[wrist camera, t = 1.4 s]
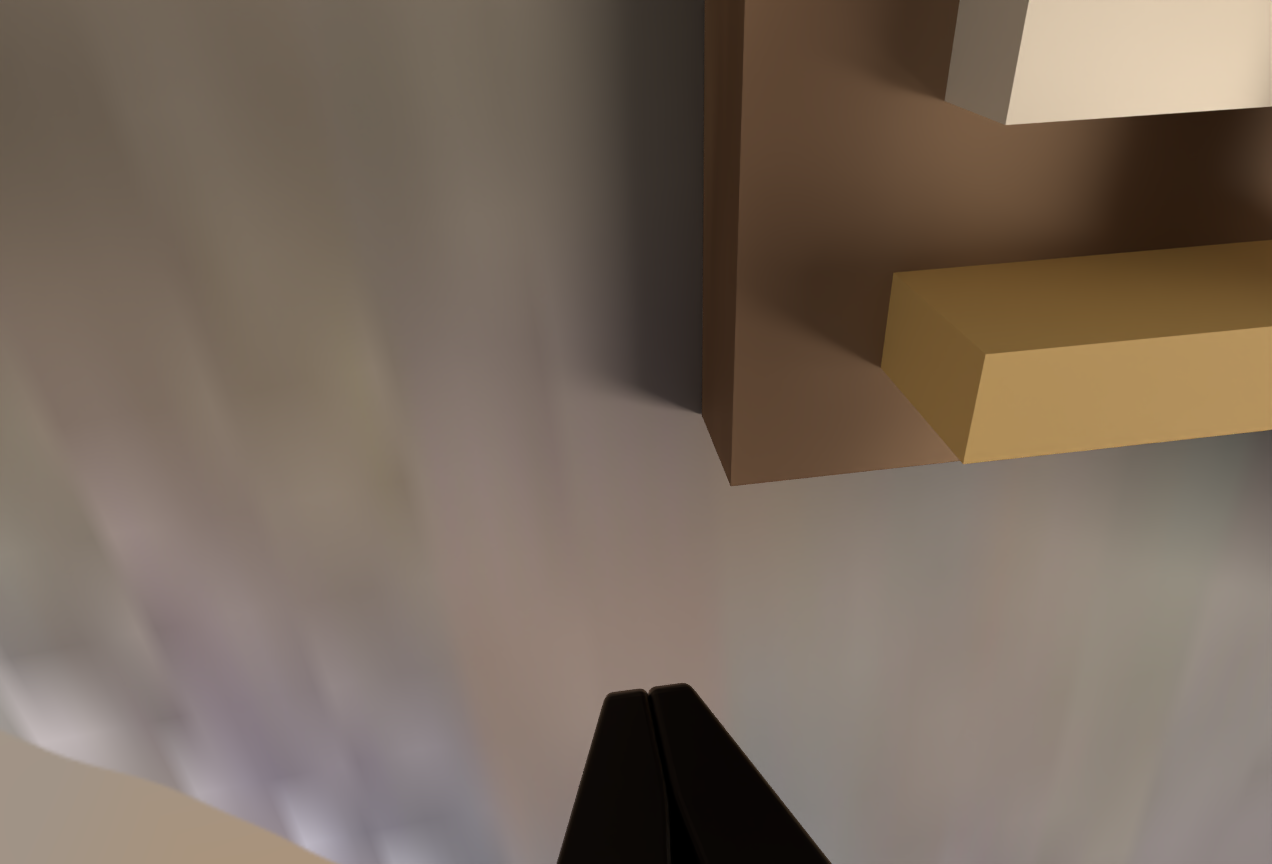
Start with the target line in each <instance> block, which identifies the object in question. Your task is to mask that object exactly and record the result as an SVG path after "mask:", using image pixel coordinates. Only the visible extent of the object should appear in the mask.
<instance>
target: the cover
mask: <svg viewBox="0 0 1272 864" xmlns="http://www.w3.org/2000/svg"><path fill="white" fill-rule="evenodd" d="M945 101H946V102H948V103H951V104H953V105H956V106H958V107H961V108H964V109H966V110H969V111H971V112H974V113H976V114H979V115H981V116H984V117H986V118H989V119H991V120H994V121H996V122H999V123H1001V124H1004V125H1013V124H1027V123H1042V122H1056V121H1070V120H1085V119H1099V118H1113V117H1128V116H1142V115H1156V114H1171V113H1185V112H1199V111H1214V110H1228V109H1242V108H1257V107H1271V106H1272V0H960V2H959V8H958V15H957V22H956V28H955V35H954V41H953V48H952V55H951V61H950V68H949V75H948V81H947V88H946V95H945Z"/></svg>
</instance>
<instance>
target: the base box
mask: <svg viewBox="0 0 1272 864" xmlns="http://www.w3.org/2000/svg"><path fill="white" fill-rule="evenodd" d="M959 2H960V0H705V40H704V193H703V346H702V417H703V419H704V422H705V424H706V426H707V429H708V431H709V434H710V436H711V439H712V441H713V444H714V446H715V449H716V451H717V454H718V456H719V458H720V461H721V463H722V466H723V468H724V471H725V473H726V476H727V478H728V481H729V483H730V486H737V485H746V484H755V483H764V482H773V481H782V480H791V479H800V478H809V477H818V476H827V475H836V474H845V473H855V472H864V471H873V470H882V469H891V468H900V467H909V466H918V465H927V464H936V463H945V462H954V461H960V460H959V459H958V458H957V456H956V455H955V454H954V453H953V452H952V451H951V449H950V448H949V447H948V446H947V445H946V444H945V442H944V441H943V440H942V439H941V438H940V437H939V435H938V434H937V433H936V432H935V431H934V430H933V428H932V427H931V426H930V425H929V424H928V423H927V421H926V420H925V419H924V418H923V417H922V416H921V414H920V413H919V412H918V411H917V410H916V409H915V407H914V406H913V405H912V404H911V403H910V402H909V400H908V399H907V398H906V397H905V396H904V395H903V393H902V392H901V391H900V390H899V389H898V388H897V386H896V385H895V384H894V383H893V382H892V380H891V379H890V378H889V377H888V376H887V375H886V373H885V372H884V371H883V370H882V369H881V362H882V355H883V347H884V340H885V332H886V325H887V317H888V310H889V302H890V295H891V287H892V280H893V273H896V272H907V271H919V270H930V269H942V268H953V267H965V266H976V265H988V264H999V263H1011V262H1022V261H1034V260H1045V259H1057V258H1068V257H1080V256H1091V255H1103V254H1114V253H1126V252H1137V251H1149V250H1160V249H1172V248H1183V247H1195V246H1206V245H1218V244H1230V243H1241V242H1253V241H1264V240H1272V106H1271V107H1257V108H1242V109H1228V110H1214V111H1199V112H1185V113H1171V114H1156V115H1142V116H1128V117H1113V118H1099V119H1085V120H1070V121H1056V122H1042V123H1027V124H1013V125H1004V124H1001V123H999V122H996V121H994V120H991V119H989V118H986V117H984V116H981V115H979V114H976V113H974V112H971V111H969V110H966V109H964V108H961V107H958V106H956V105H953V104H951V103H948V102H946V101H945V95H946V88H947V81H948V75H949V68H950V61H951V55H952V48H953V41H954V35H955V28H956V22H957V15H958V8H959Z"/></svg>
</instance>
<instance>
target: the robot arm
mask: <svg viewBox="0 0 1272 864" xmlns="http://www.w3.org/2000/svg"><path fill="white" fill-rule="evenodd" d="M557 864H831V862H830V861H829V860H828V858H827V857H826V856H825V855H824V853H823V852H822V851H821V850H820V848H819V847H818V846H817V845H816V843H815V842H814V841H813V839H812V838H811V837H810V836H809V834H808V833H807V832H806V831H805V829H804V828H803V827H802V826H801V824H800V823H799V822H798V820H797V819H796V818H795V817H794V815H793V814H792V813H791V812H790V810H789V809H788V808H787V807H786V805H785V804H784V803H783V801H782V800H781V799H780V798H779V796H778V795H777V794H776V793H775V791H774V790H773V789H772V788H771V786H770V785H769V784H768V782H767V781H766V780H765V779H764V777H763V776H762V775H761V774H760V772H759V771H758V770H757V769H756V767H755V766H754V765H753V763H752V762H751V761H750V760H749V758H748V757H747V756H746V755H745V753H744V752H743V751H742V750H741V748H740V747H739V746H738V744H737V743H736V742H735V741H734V739H733V738H732V737H731V736H730V734H729V733H728V732H727V731H726V729H725V728H724V727H723V725H722V724H721V723H720V722H719V720H718V719H717V718H716V717H715V715H714V714H713V713H712V712H711V710H710V709H709V708H708V706H707V705H706V704H705V703H704V701H703V700H702V699H701V698H700V696H699V695H698V694H697V693H696V691H695V690H694V689H693V688H692V687H691V686H690V685H688V684H686V683H678V684H670V685H663V686H655V687H653V688H651V689H650V690H649V693H648V694H647V692H646V691H645V690H643V689H633V690H625V691H618V692H612V693H609V694H608V695H607V696H606V698H605V699H604V702H603V705H602V709H601V712H600V716H599V719H598V723H597V726H596V730H595V733H594V737H593V740H592V743H591V747H590V750H589V754H588V757H587V761H586V764H585V768H584V771H583V775H582V778H581V781H580V785H579V788H578V792H577V795H576V799H575V802H574V806H573V809H572V813H571V816H570V819H569V823H568V826H567V830H566V833H565V837H564V840H563V844H562V847H561V851H560V854H559V857H558V861H557Z"/></svg>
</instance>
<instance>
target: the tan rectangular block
mask: <svg viewBox="0 0 1272 864" xmlns="http://www.w3.org/2000/svg"><path fill="white" fill-rule="evenodd" d="M881 369H882V370H883V371H884V372H885V373H886V375H887V376H888V377H889V378H890V379H891V380H892V382H893V383H894V384H895V385H896V386H897V388H898V389H899V390H900V391H901V392H902V393H903V395H904V396H905V397H906V398H907V399H908V400H909V402H910V403H911V404H912V405H913V406H914V407H915V409H916V410H917V411H918V412H919V413H920V414H921V416H922V417H923V418H924V419H925V420H926V421H927V423H928V424H929V425H930V426H931V427H932V428H933V430H934V431H935V432H936V433H937V434H938V435H939V437H940V438H941V439H942V440H943V441H944V442H945V444H946V445H947V446H948V447H949V448H950V449H951V451H952V452H953V453H954V454H955V455H956V456H957V458H958V459H959V460H960V461H961V462H962V463H963V464H968V463H977V462H986V461H995V460H1004V459H1013V458H1022V457H1031V456H1040V455H1049V454H1058V453H1067V452H1076V451H1085V450H1094V449H1104V448H1113V447H1122V446H1131V445H1140V444H1149V443H1158V442H1167V441H1176V440H1185V439H1194V438H1203V437H1212V436H1221V435H1230V434H1239V433H1248V432H1257V431H1266V430H1272V240H1264V241H1253V242H1241V243H1230V244H1218V245H1206V246H1195V247H1183V248H1172V249H1160V250H1149V251H1137V252H1126V253H1114V254H1103V255H1091V256H1080V257H1068V258H1057V259H1045V260H1034V261H1022V262H1011V263H999V264H988V265H976V266H965V267H953V268H942V269H930V270H919V271H907V272H896V273H893V280H892V287H891V295H890V302H889V310H888V317H887V325H886V332H885V340H884V347H883V355H882V362H881Z"/></svg>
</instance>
